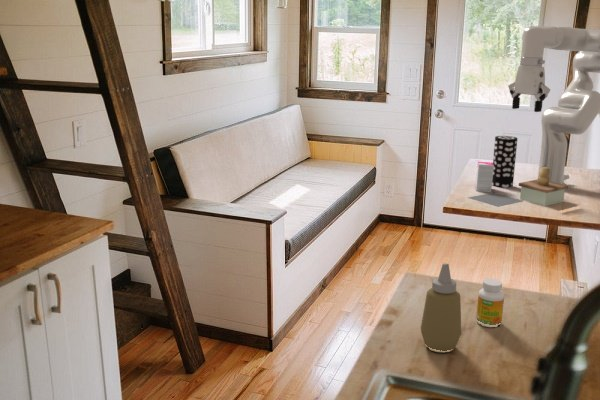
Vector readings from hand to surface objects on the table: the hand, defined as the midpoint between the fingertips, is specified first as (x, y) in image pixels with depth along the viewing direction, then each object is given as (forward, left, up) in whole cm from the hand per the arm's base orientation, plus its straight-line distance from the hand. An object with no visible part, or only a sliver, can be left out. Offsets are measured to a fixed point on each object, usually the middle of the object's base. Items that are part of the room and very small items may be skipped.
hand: (526, 110), depth 237 cm
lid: (+2, +12, -26) cm, 29 cm away
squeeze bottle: (+111, +69, -32) cm, 135 cm away
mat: (+15, +2, -32) cm, 36 cm away
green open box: (+2, +12, -32) cm, 35 cm away
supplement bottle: (+94, +67, -32) cm, 120 cm away
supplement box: (+8, -10, -32) cm, 35 cm away
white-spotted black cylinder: (-4, -11, -32) cm, 35 cm away
